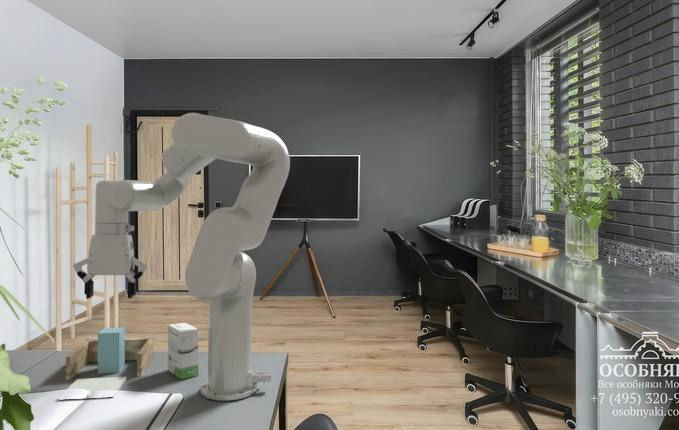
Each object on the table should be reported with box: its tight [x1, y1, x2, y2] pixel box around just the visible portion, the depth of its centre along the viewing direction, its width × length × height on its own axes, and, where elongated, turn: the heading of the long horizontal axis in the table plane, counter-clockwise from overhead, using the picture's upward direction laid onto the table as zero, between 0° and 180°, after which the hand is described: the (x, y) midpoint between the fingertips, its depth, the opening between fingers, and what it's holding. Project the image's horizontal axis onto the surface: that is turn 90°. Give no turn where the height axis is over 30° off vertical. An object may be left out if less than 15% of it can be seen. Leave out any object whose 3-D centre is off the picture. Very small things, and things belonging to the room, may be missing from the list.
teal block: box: [97, 327, 126, 374], centre depth 120 cm, size 5×5×10 cm
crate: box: [65, 337, 154, 381], centre depth 121 cm, size 17×14×6 cm
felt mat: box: [66, 376, 128, 398], centre depth 107 cm, size 11×11×1 cm
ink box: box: [167, 322, 199, 380], centre depth 118 cm, size 9×5×12 cm, turn 39°
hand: (110, 297), depth 120 cm, fingers open, 9 cm apart
